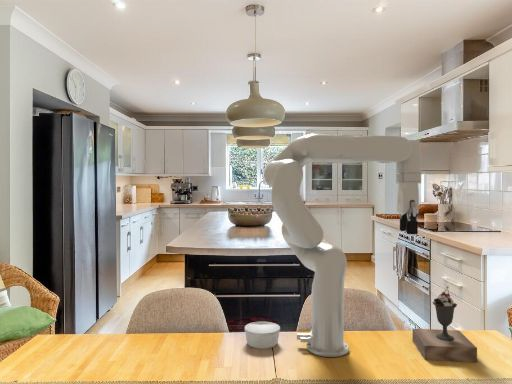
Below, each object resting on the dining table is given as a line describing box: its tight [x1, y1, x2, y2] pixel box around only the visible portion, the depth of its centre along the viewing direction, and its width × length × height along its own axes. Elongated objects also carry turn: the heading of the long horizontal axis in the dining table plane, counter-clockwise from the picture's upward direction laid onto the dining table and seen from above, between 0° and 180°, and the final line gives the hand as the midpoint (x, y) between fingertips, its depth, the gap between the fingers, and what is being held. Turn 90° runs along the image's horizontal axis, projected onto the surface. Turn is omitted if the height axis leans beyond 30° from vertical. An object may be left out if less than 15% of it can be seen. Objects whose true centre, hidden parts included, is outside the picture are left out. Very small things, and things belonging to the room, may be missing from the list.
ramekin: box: [244, 321, 281, 350], centre depth 129 cm, size 11×11×5 cm
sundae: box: [432, 285, 458, 340], centre depth 123 cm, size 7×7×15 cm
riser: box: [411, 328, 478, 363], centre depth 123 cm, size 14×14×4 cm
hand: (408, 232), depth 132 cm, fingers open, 9 cm apart
